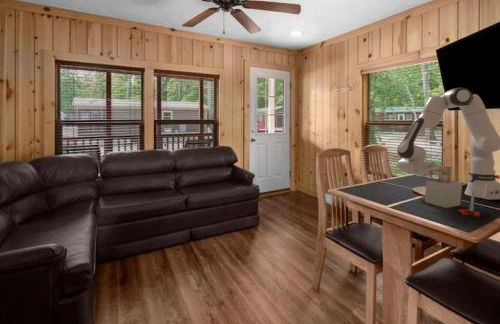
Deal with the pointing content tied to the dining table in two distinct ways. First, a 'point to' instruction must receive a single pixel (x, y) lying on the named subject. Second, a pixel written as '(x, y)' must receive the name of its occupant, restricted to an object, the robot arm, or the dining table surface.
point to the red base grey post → (470, 208)
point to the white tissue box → (443, 193)
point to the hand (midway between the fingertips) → (446, 173)
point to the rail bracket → (445, 173)
